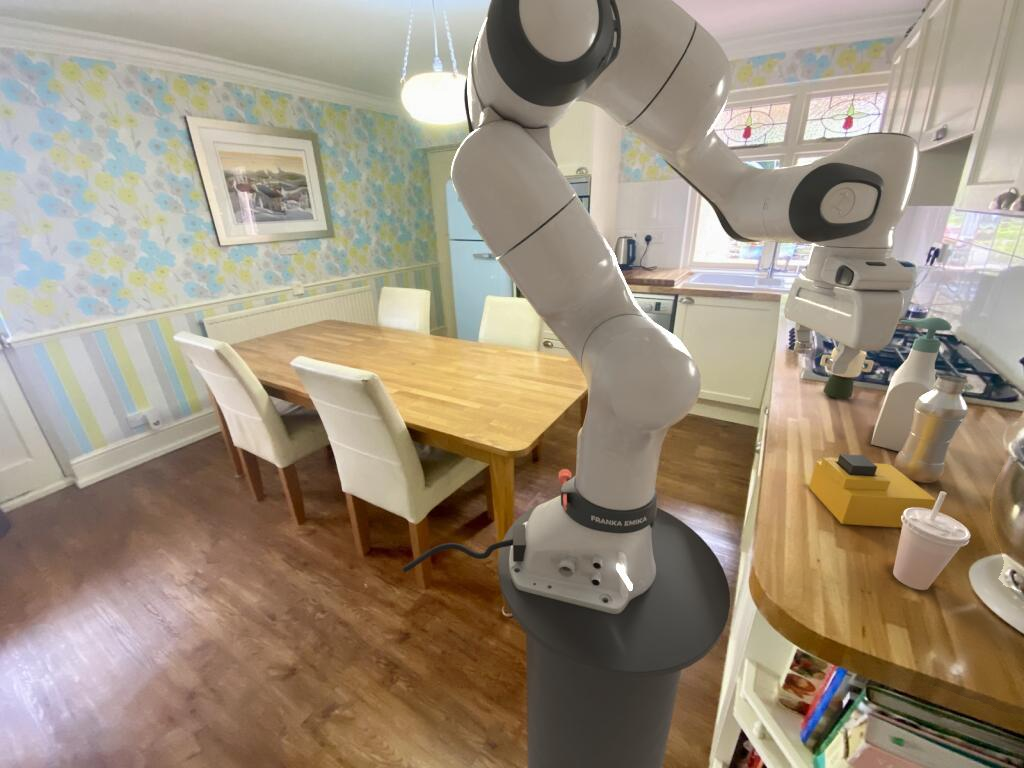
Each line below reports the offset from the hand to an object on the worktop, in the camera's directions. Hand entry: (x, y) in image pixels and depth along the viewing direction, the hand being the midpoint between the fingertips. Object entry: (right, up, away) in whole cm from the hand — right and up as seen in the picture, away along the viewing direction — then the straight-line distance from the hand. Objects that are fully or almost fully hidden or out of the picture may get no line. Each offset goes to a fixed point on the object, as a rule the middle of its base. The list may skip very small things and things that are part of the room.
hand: (817, 361), depth 63 cm
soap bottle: (+37, -16, +29) cm, 49 cm away
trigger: (+10, -18, +6) cm, 22 cm away
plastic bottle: (+30, -21, +16) cm, 40 cm away
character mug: (+42, -7, +51) cm, 66 cm away
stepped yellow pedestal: (+14, -24, +8) cm, 29 cm away
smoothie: (+9, -30, -6) cm, 32 cm away
